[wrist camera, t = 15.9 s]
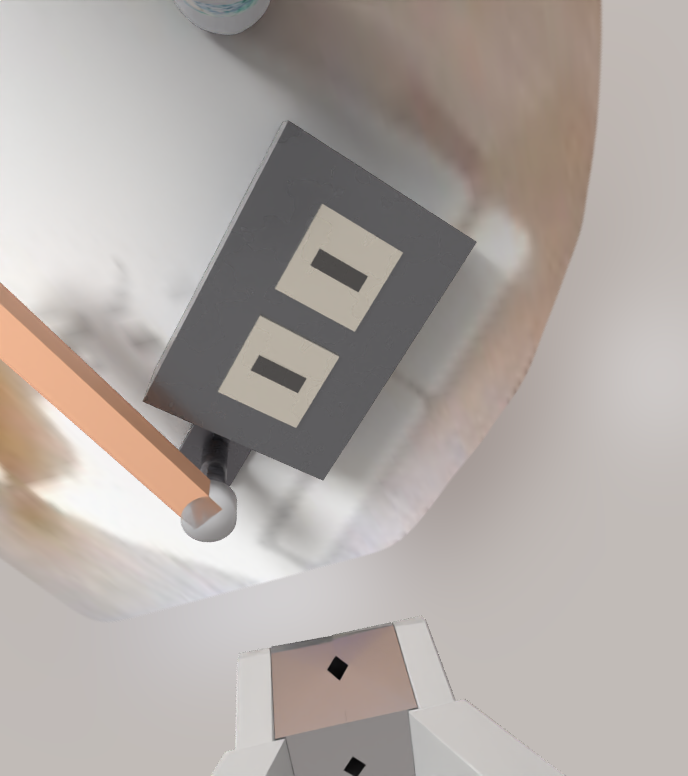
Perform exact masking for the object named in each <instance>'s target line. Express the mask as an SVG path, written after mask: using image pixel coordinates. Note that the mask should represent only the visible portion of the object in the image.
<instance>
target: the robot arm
mask: <svg viewBox="0 0 688 776" xmlns="http://www.w3.org/2000/svg"><path fill="white" fill-rule="evenodd" d="M236 695H237V696H236V745H235V748H236V749H235V750H231V751H227V752H225V753H224V755H223V757H222V758H221V760H220V762H219V763H218V765H217V767H216V768H215V769H214V771H213V773H212V774H211V776H566V775H564V774H563V773H562V772H560V771H559V770H558V769H556V768H555V767H554V766H552V765H551V764H550V763H549V762H547V761H546V760H545V759H543V758H542V757H540V756H539V755H538V754H537V753H535V752H534V751H533V750H531V749H530V748H529V747H528V746H526V745H525V744H524V743H522V742H521V741H520V740H518V739H517V738H516V737H515V736H513V735H512V734H511V733H509V732H508V731H506V730H505V729H504V728H502V727H501V726H500V725H499V724H497V723H496V722H495V721H493V720H492V719H491V718H490V717H488V716H487V715H486V714H484V713H483V712H482V711H480V710H479V709H478V708H476V707H475V706H474V705H473V704H471V703H470V702H469V701H467V700H466V699H462V700H455V697H454V695H453V692H452V689H451V687H450V684H449V681H448V678H447V676H446V673H445V670H444V668H443V665H442V662H441V659H440V657H439V654H438V651H437V649H436V646H435V644H434V641H433V638H432V635H431V633H430V630H429V627H428V624H427V622H426V619H424V617H423V616H418V617H413V618H408V619H404V620H400V621H395V622H393V623H391V622H390V623H385V624H381V625H376V626H371V627H367V628H362V629H358V630H353V631H349V632H344V633H340V634H335V635H332V636H328V637H323V638H317V639H312V640H306V641H301V642H295V643H290V644H284V645H278V646H273V647H271V648H266V649H261V650H255V651H249V652H243V653H240V654H239V657H238V661H237V694H236Z"/></svg>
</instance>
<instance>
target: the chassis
mask: <svg viewBox="0 0 688 776" xmlns="http://www.w3.org/2000/svg"><path fill="white" fill-rule="evenodd" d="M475 244H476V241H474V240H473V239H471V238H470V237H468V236H467V235H465V234H463V233H462V232H460V231H459V230H457V229H456V228H454V227H453V226H451V225H449V224H448V223H446V222H445V221H443V220H442V219H440V218H439V217H437V216H436V215H434V214H432V213H431V212H429V211H428V210H426V209H425V208H423V207H422V206H420V205H418V204H417V203H415V202H414V201H412V200H411V199H409V198H408V197H406V196H405V195H403V194H401V193H400V192H398V191H397V190H395V189H394V188H392V187H391V186H389V185H387V184H386V183H384V182H383V181H381V180H380V179H378V178H377V177H375V176H374V175H372V174H370V173H369V172H367V171H366V170H364V169H363V168H361V167H360V166H358V165H357V164H355V163H353V162H352V161H350V160H349V159H347V158H346V157H344V156H343V155H341V154H339V153H338V152H336V151H335V150H333V149H332V148H330V147H329V146H327V145H326V144H324V143H322V142H321V141H319V140H318V139H316V138H315V137H313V136H312V135H310V134H308V133H307V132H305V131H304V130H302V129H301V128H299V127H298V126H296V125H295V124H293V123H291V122H290V121H285V122H282V124H281V126H280V128H279V130H278V132H277V134H276V136H275V138H274V140H273V142H272V144H271V146H270V147H269V149H268V151H267V153H266V155H265V157H264V159H263V161H262V163H261V165H260V167H259V169H258V171H257V173H256V175H255V176H254V178H253V180H252V182H251V184H250V186H249V188H248V190H247V192H246V194H245V196H244V198H243V200H242V202H241V204H240V206H239V207H238V209H237V211H236V213H235V215H234V217H233V219H232V221H231V223H230V225H229V227H228V229H227V231H226V233H225V235H224V236H223V238H222V240H221V242H220V244H219V246H218V248H217V250H216V252H215V254H214V256H213V258H212V260H211V262H210V264H209V266H208V267H207V269H206V271H205V273H204V275H203V277H202V279H201V281H200V283H199V285H198V287H197V289H196V291H195V293H194V295H193V297H192V298H191V300H190V302H189V304H188V306H187V308H186V310H185V312H184V314H183V316H182V318H181V320H180V322H179V324H178V326H177V327H176V329H175V331H174V333H173V335H172V337H171V339H170V341H169V343H168V345H167V347H166V349H165V351H164V353H163V355H162V357H161V358H160V360H159V362H158V364H157V366H156V368H155V370H154V373H153V376H152V378H151V381H150V384H149V386H148V389H147V391H146V394H145V397H144V399H143V402H145V403H147V404H150V405H152V406H154V407H156V408H159V409H161V410H163V411H166V412H168V413H170V414H172V415H175V416H177V417H179V418H182V419H184V420H186V421H188V422H191V423H193V424H195V425H198V426H200V427H202V428H204V429H207V430H209V431H211V432H213V433H216V434H218V435H220V436H223V437H225V438H227V439H229V440H232V441H234V442H236V443H239V444H241V445H243V446H245V447H248V448H250V449H252V450H255V451H257V452H259V453H261V454H264V455H266V456H268V457H271V458H273V459H275V460H277V461H280V462H282V463H284V464H287V465H289V466H291V467H293V468H296V469H298V470H300V471H303V472H305V473H307V474H309V475H312V476H314V477H316V478H319V479H321V480H324V478H325V477H326V475H327V474H328V472H329V471H330V469H331V467H332V466H333V464H334V463H335V461H336V460H337V458H338V457H339V455H340V453H341V452H342V450H343V449H344V447H345V446H346V444H347V443H348V441H349V439H350V438H351V436H352V435H353V433H354V432H355V430H356V429H357V427H358V425H359V424H360V422H361V421H362V419H363V418H364V416H365V415H366V413H367V412H368V410H369V408H370V407H371V405H372V404H373V402H374V401H375V399H376V398H377V396H378V394H379V393H380V391H381V390H382V388H383V387H384V385H385V384H386V382H387V380H388V379H389V377H390V376H391V374H392V373H393V371H394V370H395V368H396V366H397V365H398V363H399V362H400V360H401V359H402V357H403V356H404V354H405V352H406V351H407V349H408V348H409V346H410V345H411V343H412V342H413V340H414V339H415V337H416V335H417V334H418V332H419V331H420V329H421V328H422V326H423V325H424V323H425V321H426V320H427V318H428V317H429V315H430V314H431V312H432V311H433V309H434V307H435V306H436V304H437V303H438V301H439V300H440V298H441V297H442V295H443V293H444V292H445V290H446V289H447V287H448V286H449V284H450V283H451V281H452V279H453V278H454V276H455V275H456V273H457V272H458V270H459V269H460V267H461V266H462V264H463V262H464V261H465V259H466V258H467V256H468V255H469V253H470V252H471V250H472V248H473V247H474V245H475Z"/></svg>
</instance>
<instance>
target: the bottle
mask: <svg viewBox="0 0 688 776" xmlns="http://www.w3.org/2000/svg"><path fill="white" fill-rule="evenodd" d="M173 1H174V2H175V4H176V5H177V7H178V8H179V9H180V11H181V12H182V13H183V14H184V15H185V16H186V17H187V18H188V19H189V20H190V21H191V22H192V23H193V24H194V25H196V26H198V27H199V28H201V29H204V30H206V31H209V32H212V33H217V34H224V35H233V34H237V33H240V32H242V31H244V30H246V29H247V28H249V27H251V26H252V25H253V24H254V23H255V22H257V21H258V20H259V19H260V18H261V17H262V15H263V14H264V13H265V11H266V10H267V8H268V6H269V3H270V0H173Z"/></svg>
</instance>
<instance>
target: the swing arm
mask: <svg viewBox="0 0 688 776" xmlns="http://www.w3.org/2000/svg"><path fill="white" fill-rule="evenodd" d="M0 359H1V360H2V361H4V362H5V363H6V364H7V365H8V366H9V367H10V368H12V369H13V370H14V371H15V372H16V373H17V374H18V375H20V376H21V377H22V378H23V379H24V380H25V381H26V382H27V383H29V384H30V385H31V386H32V387H33V388H34V389H35V390H37V391H38V392H39V393H40V394H41V395H42V396H43V397H45V398H46V399H47V400H48V401H49V402H50V403H51V404H52V405H54V406H55V407H56V408H57V409H58V410H59V411H60V412H62V413H63V414H64V415H65V416H66V417H67V418H68V419H70V420H71V421H72V422H73V423H74V424H75V425H76V426H77V427H79V428H80V429H81V430H82V431H83V432H84V433H85V434H87V435H88V436H89V437H90V438H91V439H92V440H93V441H94V442H96V443H97V444H98V445H99V446H100V447H101V448H102V449H104V450H105V451H106V452H107V453H108V454H109V455H110V456H112V457H113V458H114V459H115V460H116V461H117V462H118V463H119V464H121V465H122V466H123V467H124V468H125V469H126V470H127V471H129V472H130V473H131V474H132V475H133V476H134V477H135V478H137V479H138V480H139V481H140V482H141V483H142V484H143V485H144V486H146V487H147V488H148V489H149V490H150V491H151V492H152V493H154V494H155V495H156V496H157V497H158V498H159V499H160V500H162V501H163V502H164V503H165V504H166V505H167V506H168V507H169V508H171V509H172V510H173V511H174V512H175V513H176V514H177V515H179V516H180V517H181V525H182V528H183V529H184V531H185V532H186V533H187V534H188V535H189V536H190V537H191V538H193V539H195V540H198V541H202V542H215V541H218V540H221V539H223V538H225V537H227V536H228V535H229V534H230V533H231V532H232V531H233V529H234V527H235V525H236V518H237V498H236V495H235V493H234V491H233V490H232V489H231V488H230V487H229V486H228V485H226V484H225V483H222V482H220V481H215V480H210V479H209V478H208V477H207V476H206V475H204V474H203V473H202V472H201V471H200V470H199V469H198V468H197V467H196V466H195V465H194V464H193V463H192V462H191V461H190V460H189V459H187V458H186V457H185V456H184V455H183V454H182V453H181V452H180V451H179V450H178V449H177V448H176V447H175V446H174V445H173V444H172V443H170V442H169V441H168V440H167V439H166V438H165V437H164V436H163V435H162V434H161V433H160V432H159V431H158V430H157V429H156V428H154V427H153V426H152V425H151V424H150V423H149V422H148V421H147V420H146V419H145V418H144V417H143V416H142V415H141V414H140V413H139V412H137V411H136V410H135V409H134V408H133V407H132V406H131V405H130V404H129V403H128V402H127V401H126V400H125V399H124V398H123V397H122V396H120V395H119V394H118V393H117V392H116V391H115V390H114V389H113V388H112V387H111V386H110V385H109V384H108V383H107V382H106V381H105V380H103V379H102V378H101V377H100V376H99V375H98V374H97V373H96V372H95V371H94V370H93V369H92V368H91V367H90V366H89V365H88V364H86V363H85V362H84V361H83V360H82V359H81V358H80V357H79V356H78V355H77V354H76V353H75V352H74V351H73V350H72V349H71V348H69V347H68V346H67V345H66V344H65V343H64V342H63V341H62V340H61V339H60V338H59V337H58V336H57V335H56V334H55V333H54V332H52V331H51V330H50V329H49V328H48V327H47V326H46V325H45V324H44V323H43V322H42V321H41V320H40V319H39V318H38V317H37V316H35V315H34V314H33V313H32V312H31V311H30V310H29V309H28V308H27V307H26V306H25V305H24V304H23V303H22V302H21V301H20V300H18V299H17V298H16V297H15V296H14V295H13V294H12V293H11V292H10V291H9V290H8V289H7V288H6V287H5V286H4V285H3V284H1V283H0Z"/></svg>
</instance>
